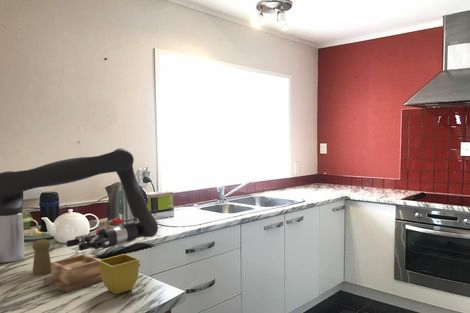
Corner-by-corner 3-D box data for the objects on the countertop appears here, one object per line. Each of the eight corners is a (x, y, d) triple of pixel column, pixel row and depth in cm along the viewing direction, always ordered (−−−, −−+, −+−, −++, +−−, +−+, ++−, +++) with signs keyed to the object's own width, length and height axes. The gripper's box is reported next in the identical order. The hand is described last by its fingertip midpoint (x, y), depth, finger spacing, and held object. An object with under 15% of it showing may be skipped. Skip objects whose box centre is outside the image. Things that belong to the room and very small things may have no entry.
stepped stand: (44, 282, 114) (43, 263, 114) (86, 269, 125) (85, 252, 125) (67, 292, 106) (66, 272, 106) (110, 278, 117) (109, 259, 117)
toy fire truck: (100, 236, 172) (99, 216, 172) (123, 239, 166) (122, 218, 166) (94, 238, 169) (94, 217, 169) (118, 241, 163) (117, 219, 163)
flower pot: (98, 290, 107) (97, 259, 107) (126, 282, 113) (125, 253, 113) (112, 299, 101) (111, 266, 100) (141, 289, 107) (140, 259, 107)
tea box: (166, 214, 226) (165, 190, 226) (174, 216, 218) (173, 191, 218) (143, 217, 216) (142, 192, 216) (151, 220, 209) (150, 194, 208)
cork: (55, 269, 127) (54, 237, 127) (47, 275, 121) (46, 242, 121) (37, 269, 127) (36, 238, 126) (28, 275, 121) (27, 242, 120)
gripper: (102, 224, 149) (62, 232, 136) (123, 229, 141) (83, 238, 128) (102, 243, 149) (63, 252, 137) (123, 248, 141) (84, 259, 128)
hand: (73, 245), depth 132 cm, fingers open, 8 cm apart
